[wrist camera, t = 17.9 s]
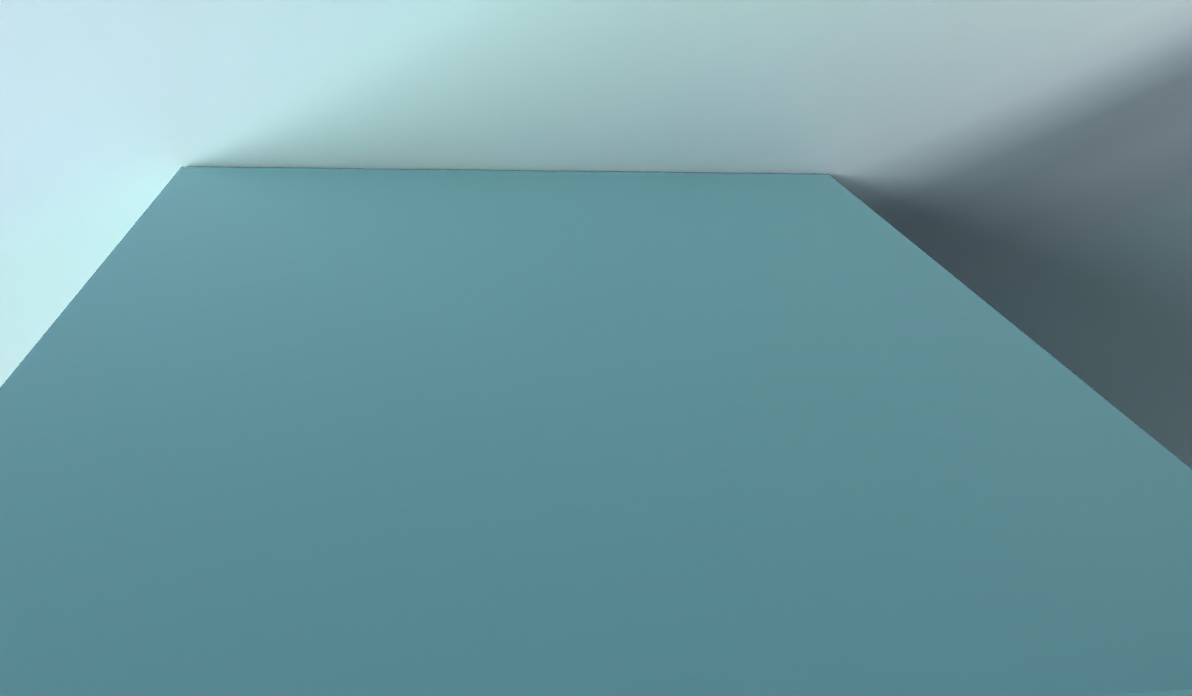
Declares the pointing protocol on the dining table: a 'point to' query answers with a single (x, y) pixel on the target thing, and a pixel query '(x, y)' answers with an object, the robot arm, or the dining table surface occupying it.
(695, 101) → the dining table surface
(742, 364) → the teal square block
